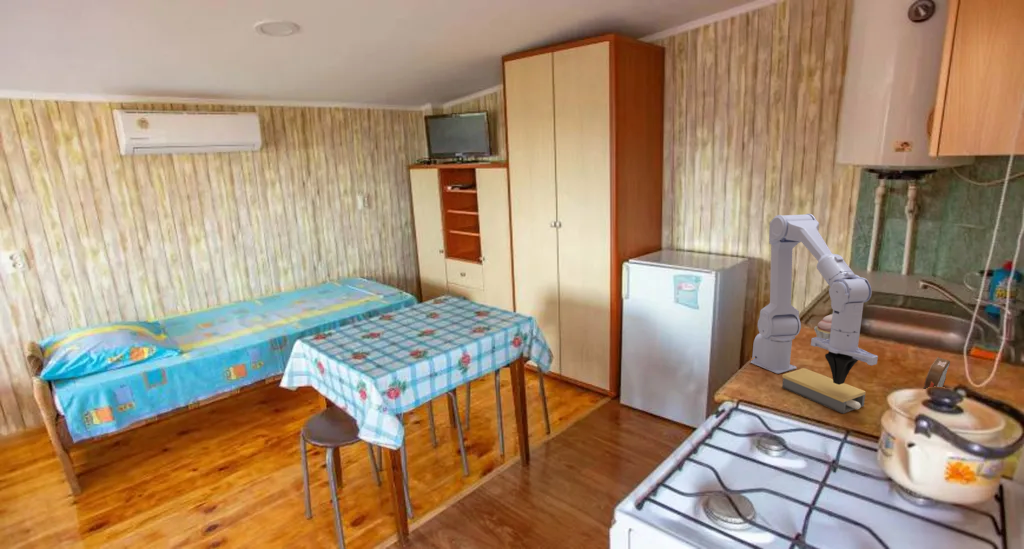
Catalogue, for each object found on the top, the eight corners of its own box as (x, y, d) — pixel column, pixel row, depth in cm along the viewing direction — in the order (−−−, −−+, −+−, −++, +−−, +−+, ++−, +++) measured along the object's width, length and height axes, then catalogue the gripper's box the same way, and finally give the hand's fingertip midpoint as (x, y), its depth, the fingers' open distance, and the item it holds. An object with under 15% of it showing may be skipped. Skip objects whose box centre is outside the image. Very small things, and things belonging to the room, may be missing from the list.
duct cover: (782, 377, 136) (782, 374, 136) (803, 370, 139) (804, 367, 139) (843, 402, 122) (843, 399, 122) (865, 394, 125) (865, 391, 125)
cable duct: (780, 386, 137) (781, 376, 136) (800, 380, 140) (802, 370, 140) (848, 416, 121) (850, 404, 121) (869, 408, 125) (871, 396, 124)
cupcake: (850, 344, 165) (854, 313, 163) (840, 351, 159) (844, 320, 157) (818, 336, 172) (821, 307, 170) (807, 344, 166) (810, 314, 164)
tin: (932, 382, 138) (937, 352, 136) (947, 385, 135) (952, 355, 133) (919, 401, 128) (924, 369, 126) (935, 405, 125) (941, 372, 124)
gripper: (805, 323, 126) (799, 375, 129) (866, 341, 113) (859, 398, 117) (824, 318, 129) (818, 369, 132) (886, 335, 116) (878, 391, 119)
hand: (838, 382), depth 125 cm, fingers closed
